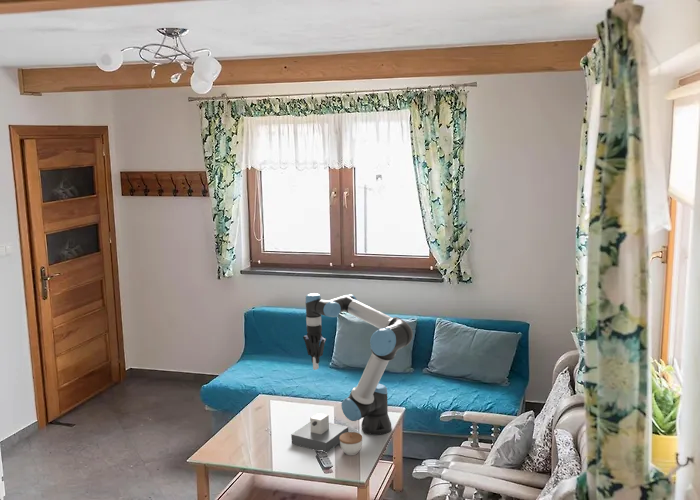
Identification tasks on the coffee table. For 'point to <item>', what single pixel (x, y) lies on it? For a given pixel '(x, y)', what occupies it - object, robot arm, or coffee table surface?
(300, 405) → the coffee table surface
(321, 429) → the plug
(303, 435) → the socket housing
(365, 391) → the robot arm
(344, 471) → the coffee table surface
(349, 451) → the lidded jar
